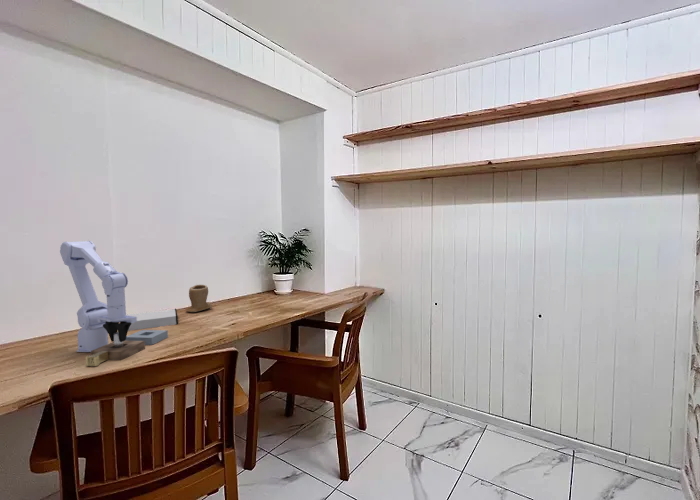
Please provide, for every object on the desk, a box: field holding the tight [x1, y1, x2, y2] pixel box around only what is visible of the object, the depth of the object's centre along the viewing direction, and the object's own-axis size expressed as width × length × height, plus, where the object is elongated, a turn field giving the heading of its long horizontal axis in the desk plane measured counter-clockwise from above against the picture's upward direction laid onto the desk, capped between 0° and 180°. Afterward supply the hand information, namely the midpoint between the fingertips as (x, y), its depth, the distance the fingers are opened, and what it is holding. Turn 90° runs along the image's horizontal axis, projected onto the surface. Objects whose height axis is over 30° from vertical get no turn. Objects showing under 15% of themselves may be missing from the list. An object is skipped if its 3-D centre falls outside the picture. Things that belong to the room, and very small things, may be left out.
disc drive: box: [126, 308, 179, 332], centre depth 172 cm, size 18×22×5 cm
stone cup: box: [184, 284, 214, 313], centre depth 198 cm, size 15×12×15 cm
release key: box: [85, 351, 109, 367], centre depth 121 cm, size 4×6×3 cm, turn 173°
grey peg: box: [113, 331, 124, 348], centre depth 130 cm, size 3×3×8 cm
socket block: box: [90, 341, 146, 361], centre depth 130 cm, size 12×12×3 cm
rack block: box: [125, 329, 169, 346], centre depth 145 cm, size 12×10×3 cm
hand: (118, 340), depth 130 cm, fingers closed on grey peg, 3 cm apart
